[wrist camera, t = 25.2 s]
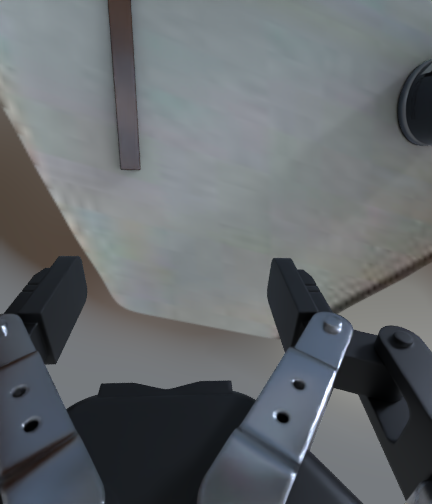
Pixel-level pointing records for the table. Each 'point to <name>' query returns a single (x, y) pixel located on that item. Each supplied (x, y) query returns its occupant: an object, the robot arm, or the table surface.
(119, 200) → the table surface
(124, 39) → the wooden spoon
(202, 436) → the robot arm
